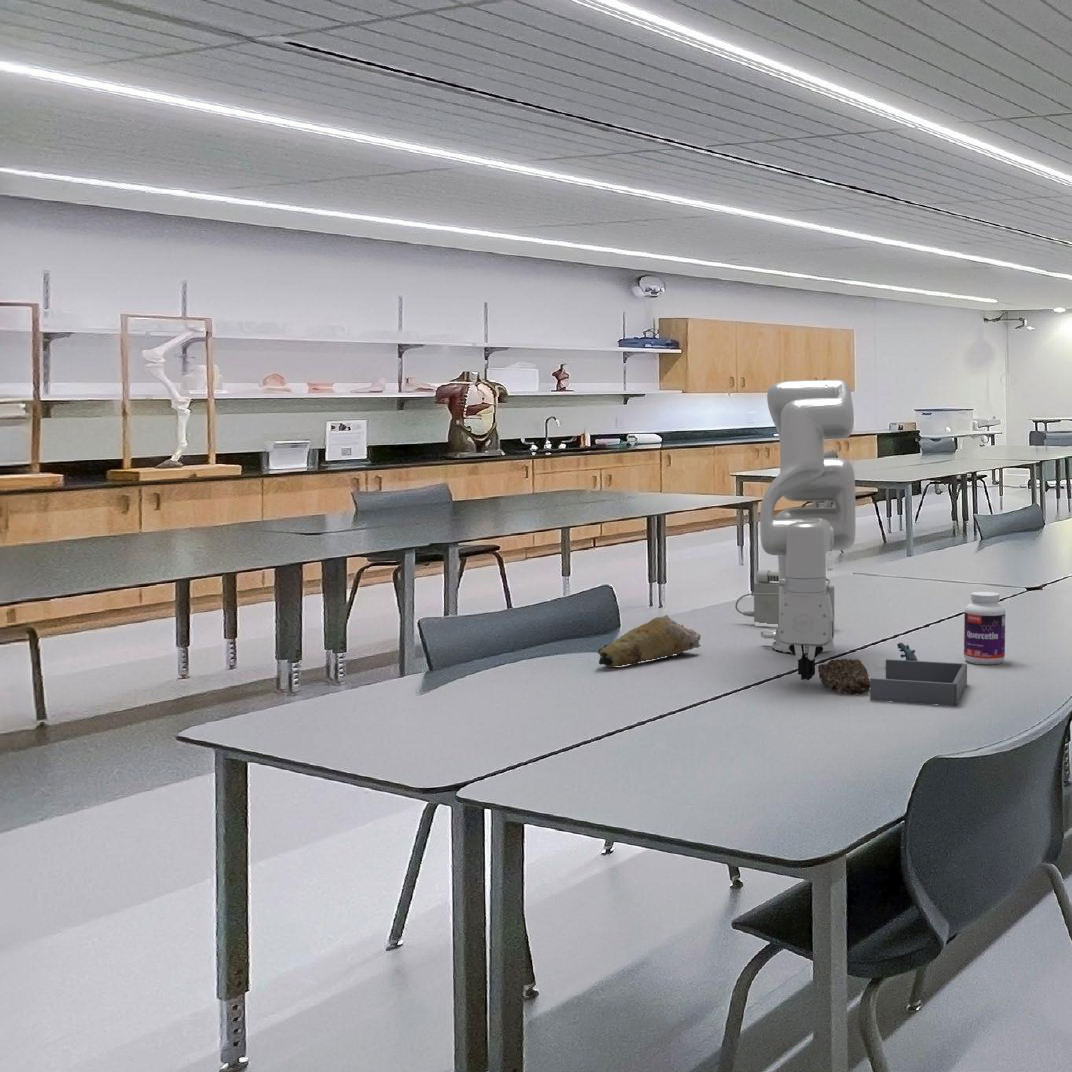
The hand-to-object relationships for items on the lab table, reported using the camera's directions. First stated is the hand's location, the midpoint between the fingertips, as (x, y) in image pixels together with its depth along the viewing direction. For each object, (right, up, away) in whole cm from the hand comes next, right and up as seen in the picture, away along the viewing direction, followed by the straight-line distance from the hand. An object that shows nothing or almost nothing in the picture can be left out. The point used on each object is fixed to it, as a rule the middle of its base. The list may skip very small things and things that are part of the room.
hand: (806, 678), depth 245 cm
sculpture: (+23, 0, +12) cm, 26 cm away
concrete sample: (+6, -2, -4) cm, 8 cm away
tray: (+19, -2, -8) cm, 21 cm away
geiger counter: (+8, +5, +62) cm, 63 cm away
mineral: (-29, 0, +27) cm, 40 cm away
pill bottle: (+41, +1, +16) cm, 44 cm away
